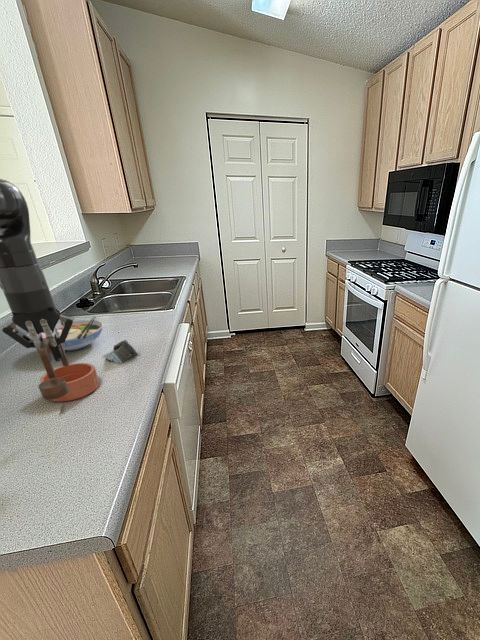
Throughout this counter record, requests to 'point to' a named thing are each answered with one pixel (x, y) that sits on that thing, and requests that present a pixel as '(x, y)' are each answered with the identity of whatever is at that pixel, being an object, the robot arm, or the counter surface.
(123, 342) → the grey angular wedge
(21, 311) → the robot arm
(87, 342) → the ramen bowl
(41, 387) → the brown bent ladle
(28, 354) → the counter surface
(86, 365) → the bowl
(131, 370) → the counter surface
